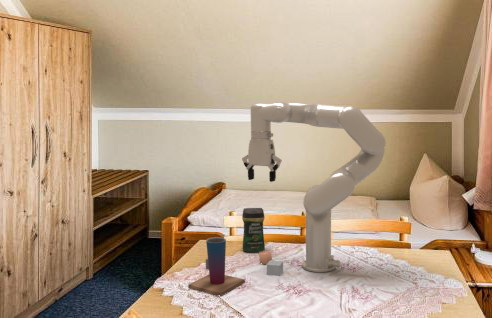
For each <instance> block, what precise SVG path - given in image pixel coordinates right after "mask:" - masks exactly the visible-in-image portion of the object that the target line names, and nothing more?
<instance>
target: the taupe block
mask: <svg viewBox="0 0 492 318" xmlns="http://www.w3.org/2000/svg"><path fill="white" fill-rule="evenodd" d="M207 269H209V265H208V258H206V259H205V270H207Z"/></svg>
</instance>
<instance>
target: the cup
mask: <svg viewBox="0 0 492 318" xmlns="http://www.w3.org/2000/svg"><path fill="white" fill-rule="evenodd" d="M205 242H206V252H207V253H206V254H207V259H208V265H209V270H208V275H210V283H211V284H216V285H217V284H222V283H224V282H225V275H226V248H227V247H226V246H227V239H226V238H225V237H221V236H220V237H219V236H217V237H216V236H215V237H209V238H207V239H205Z"/></svg>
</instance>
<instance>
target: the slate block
mask: <svg viewBox="0 0 492 318" xmlns="http://www.w3.org/2000/svg"><path fill="white" fill-rule="evenodd" d="M283 272H284V261H283V260H273V259H272V260H270V261H269V262H268V263H267V264H266V275H269V276H277V277H278V276H279V277H280V276H282V274H283Z"/></svg>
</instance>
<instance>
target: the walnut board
mask: <svg viewBox="0 0 492 318" xmlns="http://www.w3.org/2000/svg"><path fill="white" fill-rule="evenodd" d="M243 283H244V284H246V279H244V278H240V277H235V276H231V275H228V274H225V282H224V283H222V284H217V285H216V284H211V283H210V275H209V274H207V275H205V276H203V277H201V278H199V279H197V280H195V281H193V282H191V283H189V284H188V286H187V287H189V288H188V289H191V288H192V289H191V290H194V289H195V290H196V291H199V292H202V291H203V292H204V293H207V294H210V295H213V294H215V295H214V296H217V295H220V296H219V297H222V296H224V295H226V294H227V292H228V293H229V292H231V291H233V290H235V289H236V287H237V288H238V287H240V286H243ZM195 290H194V291H195ZM203 292H202V293H203ZM225 293H226V294H225ZM223 294H224V295H223ZM221 295H222V296H221Z"/></svg>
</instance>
